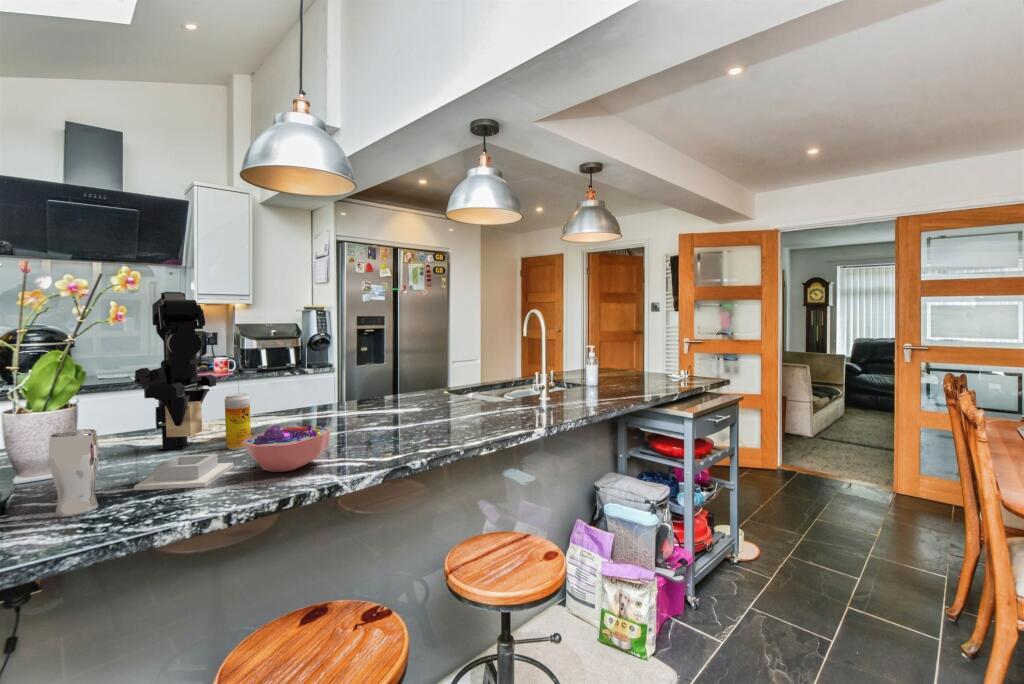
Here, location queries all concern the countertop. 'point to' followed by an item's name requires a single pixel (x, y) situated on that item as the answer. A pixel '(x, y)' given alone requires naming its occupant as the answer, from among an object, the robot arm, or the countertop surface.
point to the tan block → (185, 421)
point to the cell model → (287, 447)
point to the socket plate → (185, 472)
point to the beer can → (237, 420)
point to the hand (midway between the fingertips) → (184, 423)
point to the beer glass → (74, 470)
